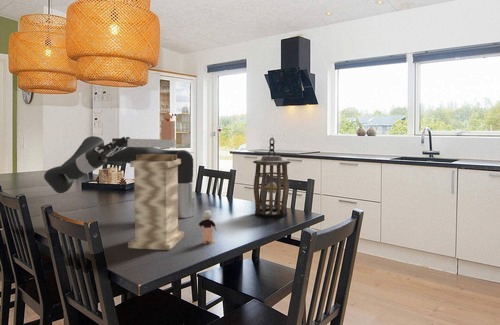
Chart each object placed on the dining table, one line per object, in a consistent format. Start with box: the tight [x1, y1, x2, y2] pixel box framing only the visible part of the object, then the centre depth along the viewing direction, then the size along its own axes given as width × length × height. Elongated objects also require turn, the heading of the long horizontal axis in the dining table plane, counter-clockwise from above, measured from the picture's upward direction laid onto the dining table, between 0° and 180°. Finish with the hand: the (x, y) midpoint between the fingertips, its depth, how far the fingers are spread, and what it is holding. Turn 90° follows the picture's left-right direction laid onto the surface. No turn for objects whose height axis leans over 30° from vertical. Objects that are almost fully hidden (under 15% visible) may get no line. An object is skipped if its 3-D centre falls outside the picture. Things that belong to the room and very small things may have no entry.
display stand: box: [127, 154, 185, 251], centre depth 145 cm, size 16×18×34 cm
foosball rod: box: [111, 112, 177, 149], centre depth 143 cm, size 24×4×13 cm, turn 83°
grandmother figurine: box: [197, 210, 218, 245], centre depth 146 cm, size 8×4×13 cm, turn 92°
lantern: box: [252, 137, 292, 220], centre depth 194 cm, size 19×19×40 cm
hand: (127, 139), depth 144 cm, fingers closed on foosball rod, 3 cm apart
